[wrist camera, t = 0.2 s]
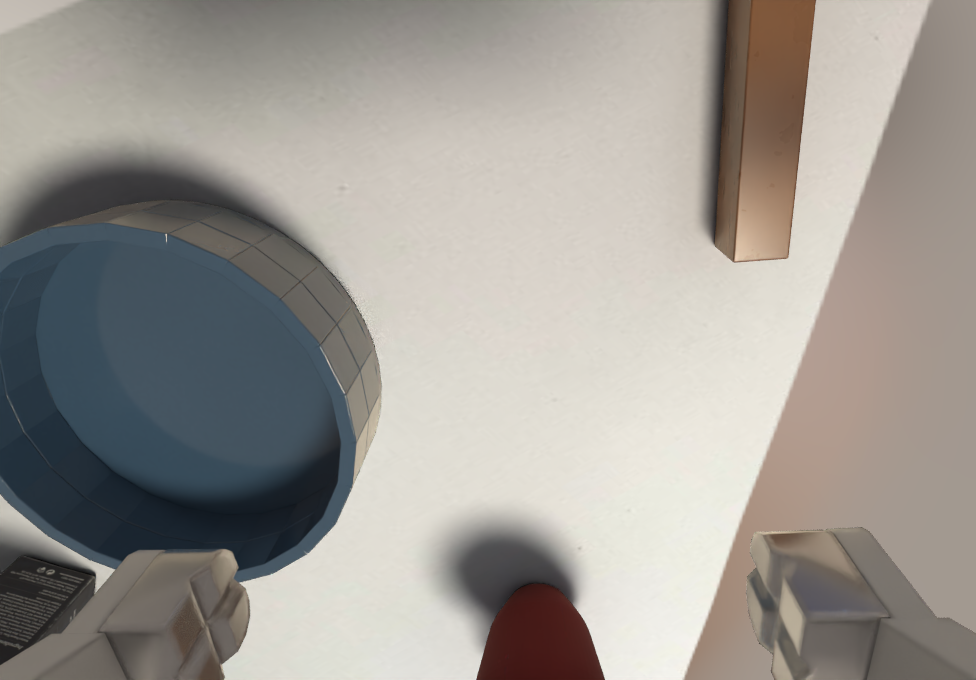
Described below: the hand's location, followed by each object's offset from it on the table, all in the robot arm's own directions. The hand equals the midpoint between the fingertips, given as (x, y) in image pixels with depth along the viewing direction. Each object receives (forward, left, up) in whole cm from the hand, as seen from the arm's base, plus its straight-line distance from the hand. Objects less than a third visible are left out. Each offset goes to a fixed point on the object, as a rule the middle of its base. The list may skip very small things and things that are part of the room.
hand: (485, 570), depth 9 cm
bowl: (+7, -19, -23) cm, 31 cm away
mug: (+27, -1, -23) cm, 36 cm away
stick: (-5, +11, -23) cm, 26 cm away
